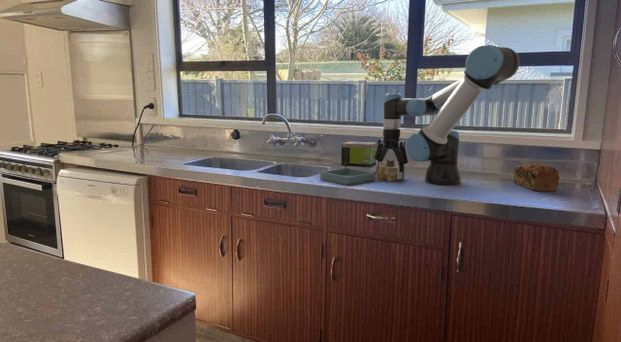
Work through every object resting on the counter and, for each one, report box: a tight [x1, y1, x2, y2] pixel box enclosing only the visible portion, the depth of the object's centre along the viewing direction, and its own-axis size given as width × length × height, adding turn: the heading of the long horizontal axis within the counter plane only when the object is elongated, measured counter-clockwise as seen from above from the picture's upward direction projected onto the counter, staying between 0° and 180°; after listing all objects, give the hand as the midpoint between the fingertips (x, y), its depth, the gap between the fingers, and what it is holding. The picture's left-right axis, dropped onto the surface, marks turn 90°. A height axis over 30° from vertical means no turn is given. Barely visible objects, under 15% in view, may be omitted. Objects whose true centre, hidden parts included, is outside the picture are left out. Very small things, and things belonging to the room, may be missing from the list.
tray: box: [320, 168, 376, 187], centre depth 202 cm, size 18×17×4 cm
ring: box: [375, 163, 406, 182], centre depth 205 cm, size 9×12×6 cm
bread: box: [513, 162, 560, 192], centre depth 189 cm, size 19×11×10 cm, turn 0°
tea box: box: [340, 141, 377, 173], centre depth 221 cm, size 15×10×15 cm, turn 65°
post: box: [385, 159, 396, 167], centre depth 205 cm, size 2×3×9 cm
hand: (390, 177), depth 206 cm, fingers open, 10 cm apart
